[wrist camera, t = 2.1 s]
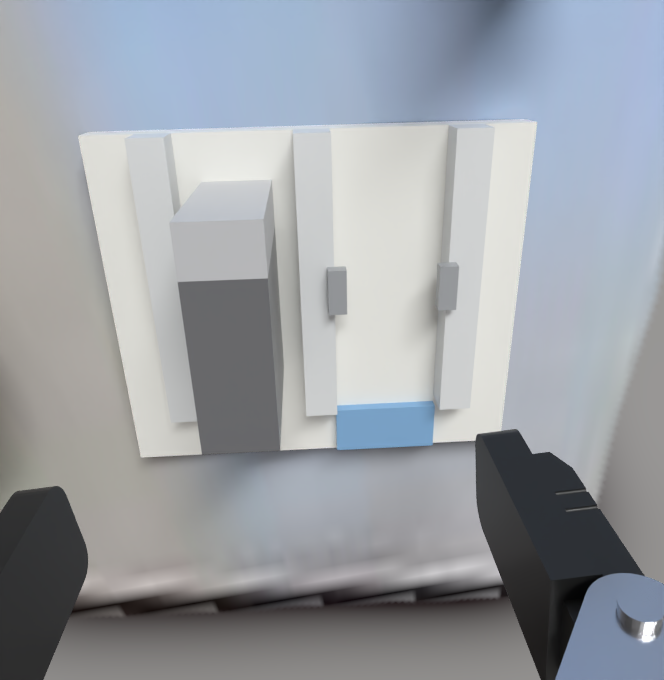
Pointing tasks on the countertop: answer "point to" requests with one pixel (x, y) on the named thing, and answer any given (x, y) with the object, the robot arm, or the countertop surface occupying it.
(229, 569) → the countertop surface
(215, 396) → the grey rectangular block
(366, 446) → the board
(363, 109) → the countertop surface
